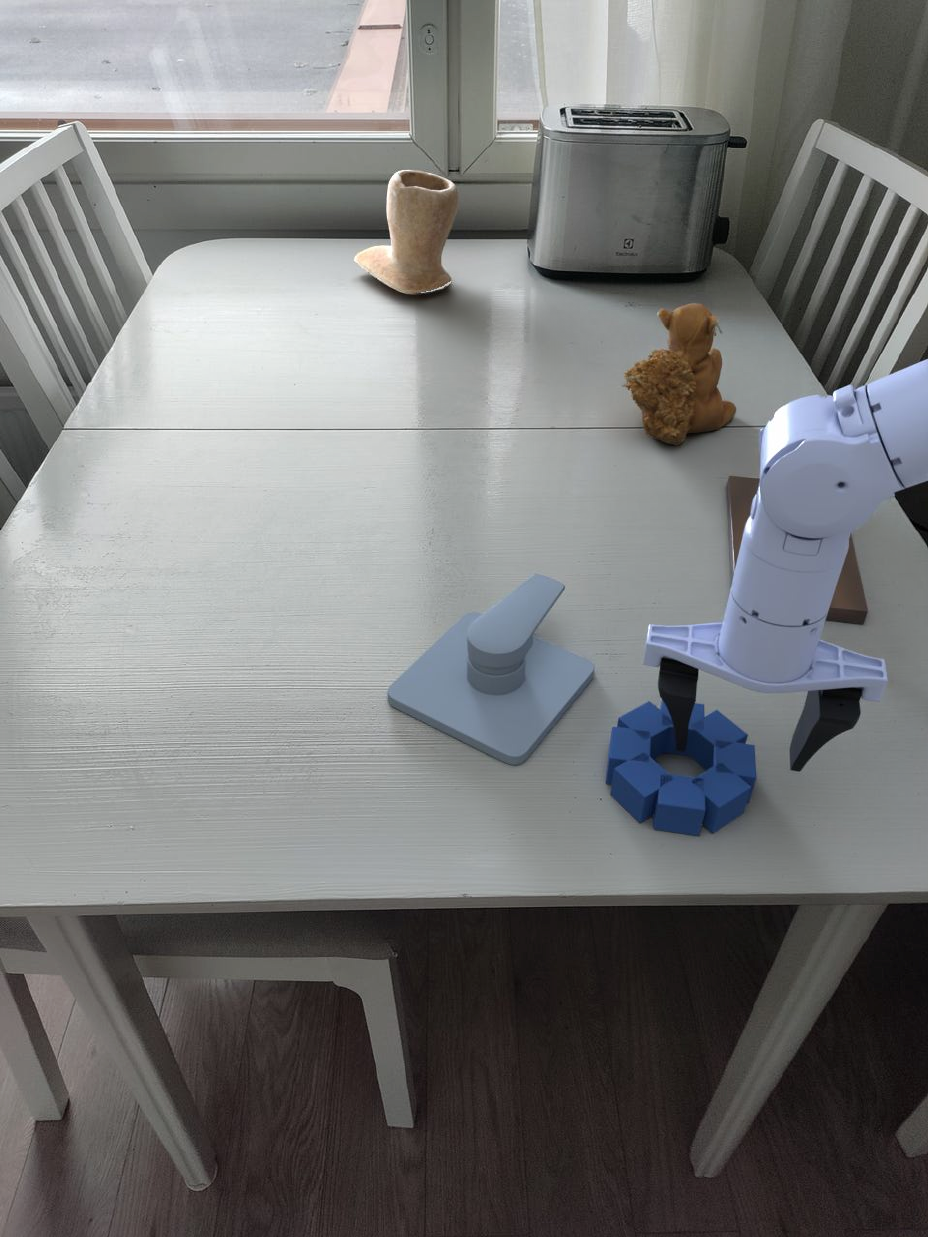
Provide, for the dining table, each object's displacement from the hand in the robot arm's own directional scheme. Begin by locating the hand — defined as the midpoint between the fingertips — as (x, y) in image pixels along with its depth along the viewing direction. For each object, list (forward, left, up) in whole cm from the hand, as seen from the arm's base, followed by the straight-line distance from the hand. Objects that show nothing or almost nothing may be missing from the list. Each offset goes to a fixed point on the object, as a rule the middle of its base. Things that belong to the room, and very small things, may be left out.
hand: (737, 750), depth 66 cm
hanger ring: (+4, 0, -4) cm, 5 cm away
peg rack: (-6, -30, -4) cm, 31 cm away
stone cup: (+43, -90, -4) cm, 100 cm away
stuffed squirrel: (+5, -52, -4) cm, 53 cm away
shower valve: (+18, -8, -4) cm, 20 cm away
